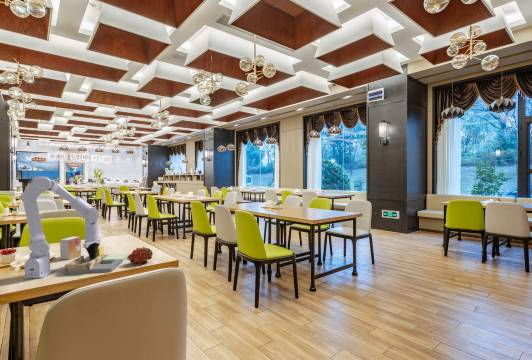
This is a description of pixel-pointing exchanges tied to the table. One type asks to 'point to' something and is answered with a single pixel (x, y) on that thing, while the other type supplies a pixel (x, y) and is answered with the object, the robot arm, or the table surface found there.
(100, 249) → the cube
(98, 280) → the table surface
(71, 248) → the small box
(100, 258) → the shallow brown tray
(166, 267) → the table surface
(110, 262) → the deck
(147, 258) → the red grape bunch
